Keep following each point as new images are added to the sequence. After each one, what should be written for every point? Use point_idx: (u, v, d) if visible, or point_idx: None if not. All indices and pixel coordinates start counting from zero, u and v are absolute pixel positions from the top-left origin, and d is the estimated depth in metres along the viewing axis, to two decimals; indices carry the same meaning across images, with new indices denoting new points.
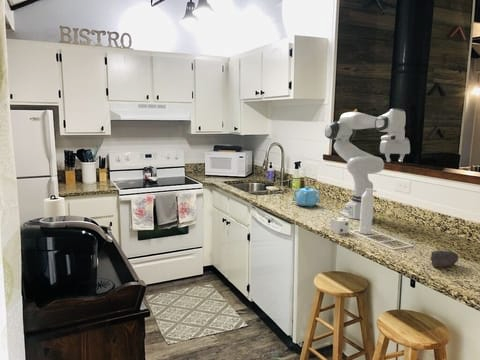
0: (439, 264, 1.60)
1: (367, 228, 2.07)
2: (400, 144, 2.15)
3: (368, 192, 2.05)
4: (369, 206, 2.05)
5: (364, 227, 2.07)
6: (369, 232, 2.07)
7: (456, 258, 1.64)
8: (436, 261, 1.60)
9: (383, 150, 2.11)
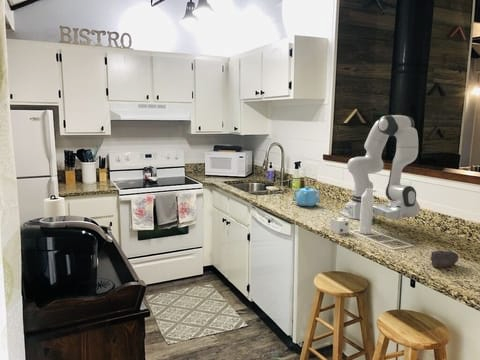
0: (439, 264, 1.60)
1: (367, 228, 2.07)
2: None
3: (368, 192, 2.05)
4: (369, 206, 2.05)
5: (364, 227, 2.07)
6: (369, 232, 2.07)
7: (456, 258, 1.64)
8: (436, 261, 1.60)
9: (391, 216, 2.00)
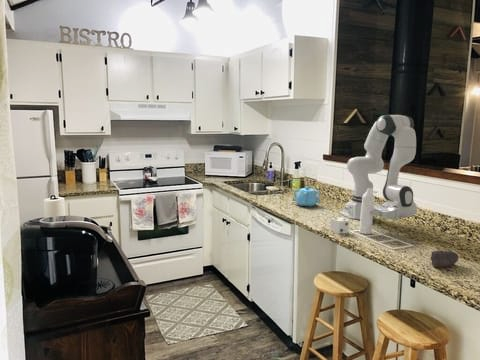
0: (439, 264, 1.60)
1: (367, 228, 2.06)
2: None
3: (369, 193, 2.03)
4: (370, 207, 2.03)
5: (364, 227, 2.07)
6: (369, 232, 2.07)
7: (456, 258, 1.64)
8: (436, 261, 1.60)
9: (387, 217, 1.99)
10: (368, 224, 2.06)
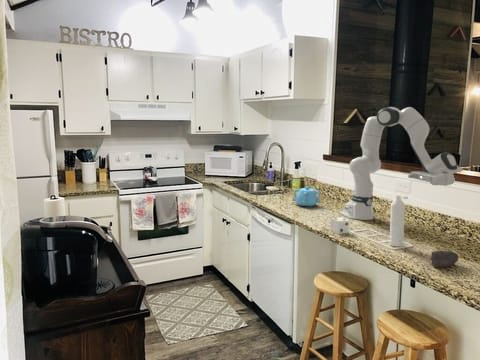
0: (439, 264, 1.60)
1: (399, 239, 1.87)
2: None
3: (398, 199, 1.86)
4: (400, 215, 1.85)
5: (395, 239, 1.87)
6: (401, 244, 1.87)
7: (456, 258, 1.64)
8: (436, 261, 1.60)
9: (438, 182, 1.94)
10: (400, 235, 1.86)
